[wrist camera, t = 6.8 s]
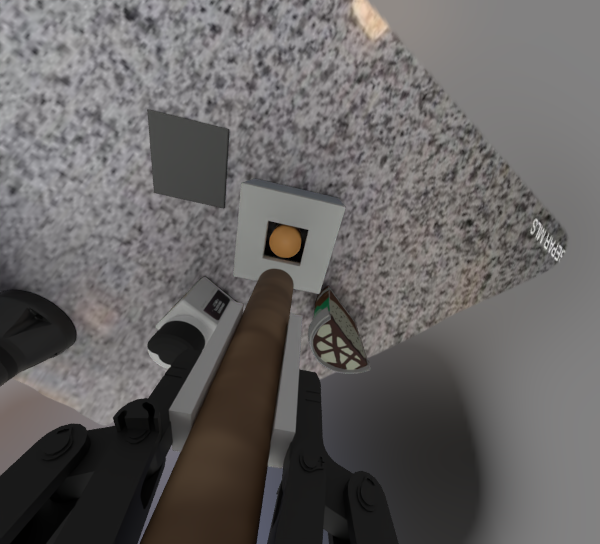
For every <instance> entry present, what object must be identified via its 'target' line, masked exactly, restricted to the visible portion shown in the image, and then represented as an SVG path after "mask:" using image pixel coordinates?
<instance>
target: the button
mask: <svg viewBox="0 0 600 544" xmlns="http://www.w3.org/2000/svg"><path fill="white" fill-rule="evenodd" d="M301 239H302V234H301V231H300V229H299V228H298V227H294V226H289V225H285V224H281V223H280V224H278V225H277V226H276V227H275V229H274V231H273V233H272V235H271V237H270V240H269V244H270V248H271V250H272V251H273V252H274V253H275V254H276V255H277V256H279V257H282V258H289V257H292V256H294V255H296V254H297V253H298V251H299V250H300V247H301Z"/></svg>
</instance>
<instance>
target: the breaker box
mask: <svg viewBox="0 0 600 544" xmlns="http://www.w3.org/2000/svg"><path fill="white" fill-rule="evenodd" d="M345 208H346V207H345V206H344V204H343V203H342V202H341V200H340V199H339V198H337V197H332V196H328V195H324V194H320V193H315V192H311V191H307V190H303V189H298V188H294V187H290V186H286V185H281V184H277V183H273V182H269V181H264V180H260V179H256V178H255V179H252V180H249V181H246V182H243V183H241V193H240V204H239V215H238V227H237V238H236V249H235V260H234V272H233V276H235V277H240V278H244V279H249V280H254V281H258V279H259V277H260V275H261V274H262V273H263V272H264V271H266V270H268V269H281V270H283V271H285V272H287V273H288V274H289V275H290V276H291V278H292V280H293V283H294V287H293V289H298V290H302V291H307V292H312V293H317V294H320V290H321V287H322V284H323V281H324V277H325V274H326V271H327V267H328V264H329V261H330V258H331V254H332V251H333V248H334V244H335V241H336V238H337V235H338V231H339V228H340V225H341V221H342V218H343V215H344V212H345ZM269 221H272V222H276V223H281V224H285V225H289V226H294V227H298V228H303V229H307V230H308V233H307V238H306V242H305V246H304V250H303V254H302V258H301V262H298V261H293V260H289V259H284V258H279V257H275V256H270V255H265V254H264V250H265V243H266V237H267V230H268V224H269Z"/></svg>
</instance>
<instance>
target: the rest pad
mask: <svg viewBox="0 0 600 544" xmlns="http://www.w3.org/2000/svg"><path fill="white" fill-rule="evenodd" d="M147 111H148V123H149V135H150V148H151V160H152V172H153V185H154V193H158V194H162V195H166V196H171V197H175V198H180V199H184V200H189V201H193V202H197V203H202V204H206V205H211V206H215V207H220V208H225V191H226V174H227V157H228V140H229V129H225V128H221V127H217V126H213V125H209V124H205V123H201V122H197V121H193V120H188V119H184V118H180V117H176V116H172V115H168V114H164V113H160V112H156V111H152V110H148V109H147Z"/></svg>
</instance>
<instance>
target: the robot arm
mask: <svg viewBox="0 0 600 544" xmlns="http://www.w3.org/2000/svg"><path fill="white" fill-rule="evenodd" d="M242 313H243V303H238V302H233V301H231V302H230V304H229V306H228V308H227V309H226V311H225V313H224V315H223V316H222V318H221V320H220V322H219V323H218V325H217V327H216V329H215V330H214V332H213V334H212V335H211V337H210V339H209V341H208V342H207V344H206V346H205V348H204V349H203V351H197V350H192V349H186V350H185V351H183V352H182V353H181V354H179V355H178V356H177V357H176V359H175V360H174V362H173V363H172V364H171V366H170V368H169V369H168V370H167V372H166V373H165V376H163V378H162V379H161V380H160V382H159V383H158V385H157V386H156V388H155V389H154V391H153V392H152V394H151V395H150V396H149V398H148V399H147V398H144V399H137V400H135V401H132V402H130V403H128V404H126V405H125V406H124V407H122V408H121V409H120V410H119V411H118V412H117V413H116V414H115V416H114V417H113V419H114V423H115V426H112V427H106V428H99V429H93V430H88V431H87V430H86V428H85V427H84V426H82V425H81V424H68V425H64V426H61V427H59V428H57V429H55V430H53V431H51V432H49V433H48V434H46V435H45V436H44V437H42V438H41V439H40V440H38V442H36V443H35V444H34V445H33V446H32V447H31V448H30V449H29V450H28V451H27V452H25V454H23V455H22V456H21V457H20V458H19V459H18V460H17V461H16V462H15V463H14V464H13V465H11V466H10V467H9V468H8V469H7V470H6V471H5V472H4V473H3V474H2V475H1V476H0V544H137V543H138V541H139V538H140V535H141V532H142V529H143V526H144V523H145V521H146V518H147V515H148V512H149V509H150V507H151V503H152V501H153V498H154V495H155V492H156V489H157V487H158V484H159V481H160V478H161V475H162V473H163V470H164V467H165V461H166V458H165V457H166V455H167V453H168V451H169V449H170V447H171V445H172V450H173V451H180V452H181V450H182V448H183V446H184V444H185V442H186V439H187V437H188V435H189V433H190V430H191V428H192V426H193V424H194V422H195V419H196V417H197V415H198V413H199V410H200V408H201V406H202V404H203V402H204V399H205V397H206V395H207V393H208V390H209V388H210V386H211V384H212V382H213V379H214V377H215V375H216V373H217V370H218V368H219V366H220V364H221V362H222V359H223V357H224V355H225V353H226V350H227V348H228V346H229V344H230V342H231V339H232V337H233V335H234V333H235V330H236V328H237V326H238V324H239V321H240V319H241V317H242ZM301 332H302V315H297V314H292V313H290V317H289V321H288V326H287V333H286V339H285V346H284V353H283V360H282V367H281V373H280V380H279V387H278V394H277V400H276V407H275V414H274V421H273V427H272V434H271V441H270V445H271V446H270V453H269V460H268V466H270V467H276V468H282V467H283V474H282V481H281V484H280V486H279V488H278V491H277V494H278V496H277V500H276V505H275V510H274V514H273V519H272V524H271V528H270V533H269V538H268V542H267V544H322V540H323V529H325V530H326V531H327V532H328V538H329V544H398V540H397V537H396V533H395V529H394V526H393V522H392V519H391V515H390V512H389V508H388V504H387V501H386V497H385V494H384V492H383V490H382V487H381V486H380V484H379V483H378V481H377V480H376V479H375V478H374V477H373V476H372V475H370V474H369V473H366V472H363V471H359V472H355V473H354V474H353V473H351V472H350V471H348V470H346V469H345V468H343V467H341V466H340V465H338V464H337V463H336V462H334V461H333V460H332V459H331V458H330V456H329V455H328V453H327V452H326V450H325V447H324V444H323V438H322V410H321V388H320V387H321V384H320V380H319V378H318V376H317V374H316V373H315V372H310V371H305V370H300V369H299V365H300V349H301ZM75 339H76V332H75V329H74V326H73V324H72V323H71V321H70V320H69V318H68V317H67V316H66V315H65V314H64V313H63V312H62V311H61V310H60V309H59V308H58V307H56V306H55V305H54V304H52V303H51V302H49V301H47V300H45V299H44V298H42V297H39V296H37V295H35V294H32V293H29V292H25V291H19V290H7V291H3V292H0V386H2V385H3V384H4V383H5V382H7V381H8V380H9V379H11V378H13V377H14V376H15V375H17V374H18V373H20V372H22V371H24V370H26V369H28V368H30V367H33V366H35V365H37V364H39V363H41V362H43V361H45V360H47V359H49V358H52V357H55V356H57V355H59V354H61V353H62V352H64V351H65V350H66V349H68V348H69V347H70V346H71V345H72V344H73V343H74V342H75Z"/></svg>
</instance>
